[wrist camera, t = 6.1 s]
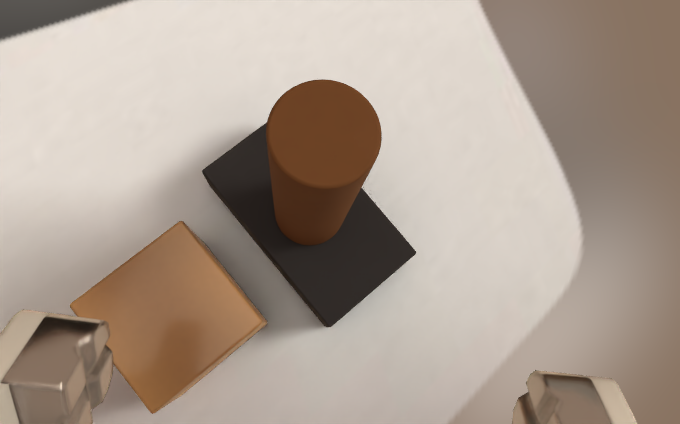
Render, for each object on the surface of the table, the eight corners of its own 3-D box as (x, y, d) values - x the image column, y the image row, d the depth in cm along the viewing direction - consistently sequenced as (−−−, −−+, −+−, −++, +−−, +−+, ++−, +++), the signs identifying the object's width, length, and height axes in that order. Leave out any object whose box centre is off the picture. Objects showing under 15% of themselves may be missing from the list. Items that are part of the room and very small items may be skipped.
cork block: (201, 239, 20) (181, 219, 17) (268, 322, 20) (264, 322, 16) (111, 309, 20) (67, 305, 16) (179, 397, 19) (151, 415, 15)
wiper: (290, 124, 22) (292, -41, 12) (405, 259, 21) (506, 201, 11) (208, 184, 21) (140, 61, 11) (325, 327, 20) (361, 329, 10)
